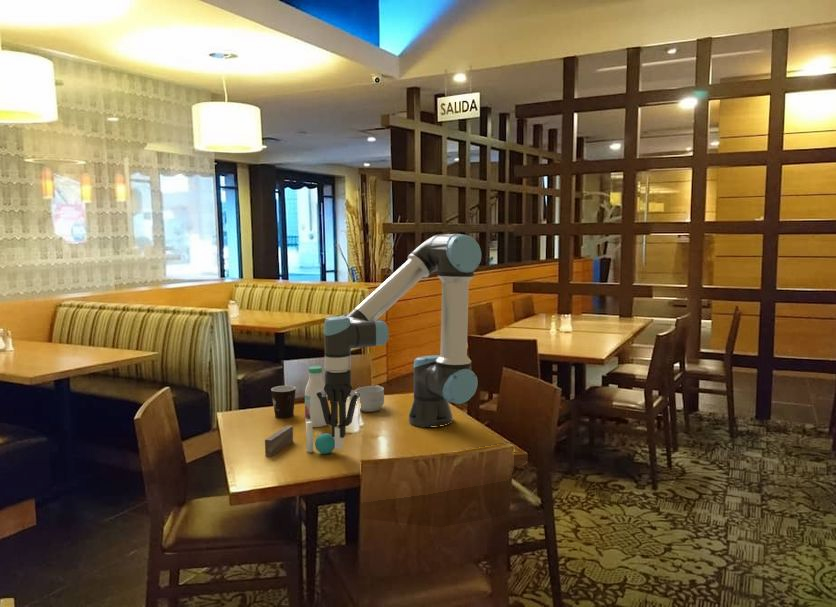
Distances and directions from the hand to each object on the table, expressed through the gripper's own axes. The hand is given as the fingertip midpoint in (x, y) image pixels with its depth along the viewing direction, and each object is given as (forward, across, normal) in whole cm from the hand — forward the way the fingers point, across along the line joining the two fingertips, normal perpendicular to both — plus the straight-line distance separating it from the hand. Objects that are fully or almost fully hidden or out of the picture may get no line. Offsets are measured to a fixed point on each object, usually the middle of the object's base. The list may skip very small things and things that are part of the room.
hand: (338, 447), depth 188 cm
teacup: (+2, +6, -48) cm, 49 cm away
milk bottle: (+2, +18, -26) cm, 31 cm away
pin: (+2, +10, 0) cm, 10 cm away
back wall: (+2, +20, -1) cm, 20 cm away
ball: (-1, +4, 0) cm, 4 cm away
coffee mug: (+2, +33, -31) cm, 45 cm away
